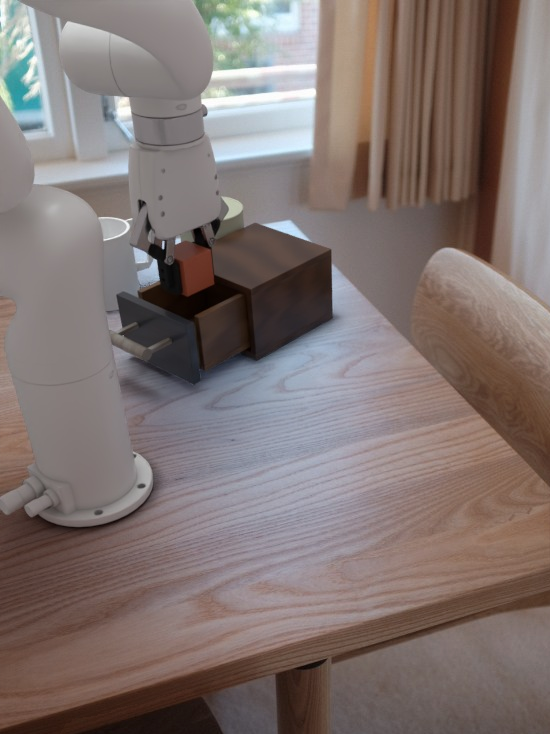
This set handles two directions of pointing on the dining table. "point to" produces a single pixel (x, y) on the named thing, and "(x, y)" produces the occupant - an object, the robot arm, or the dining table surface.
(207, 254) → the block
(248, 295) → the cabinet
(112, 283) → the cup
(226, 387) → the dining table surface
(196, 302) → the drawer
